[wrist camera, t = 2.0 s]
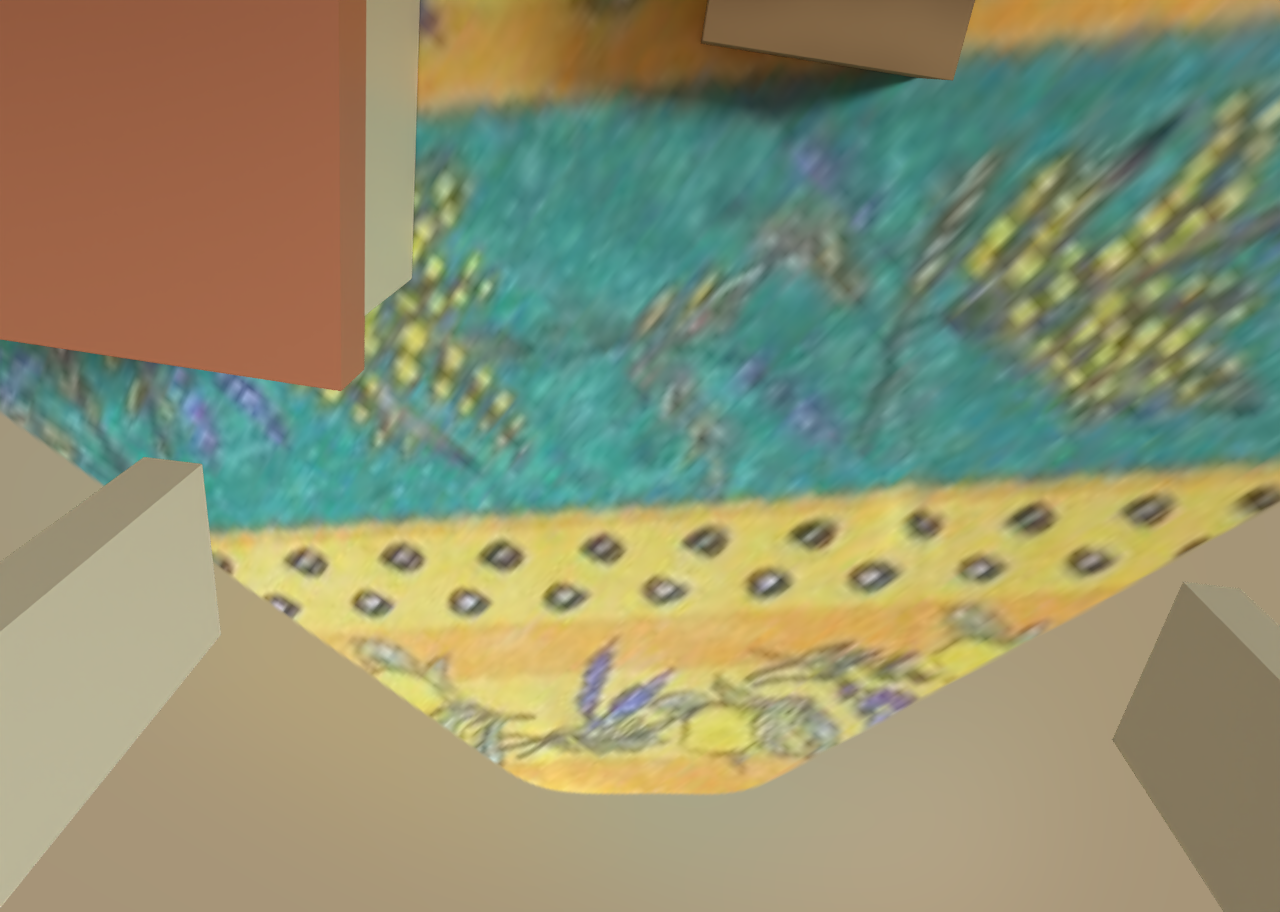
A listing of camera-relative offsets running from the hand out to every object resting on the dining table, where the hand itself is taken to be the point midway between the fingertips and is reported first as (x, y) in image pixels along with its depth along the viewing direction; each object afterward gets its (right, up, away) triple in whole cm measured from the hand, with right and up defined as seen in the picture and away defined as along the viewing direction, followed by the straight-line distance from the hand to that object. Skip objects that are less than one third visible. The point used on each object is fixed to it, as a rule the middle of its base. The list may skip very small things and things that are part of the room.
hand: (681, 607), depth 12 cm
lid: (-14, +11, +14) cm, 23 cm away
